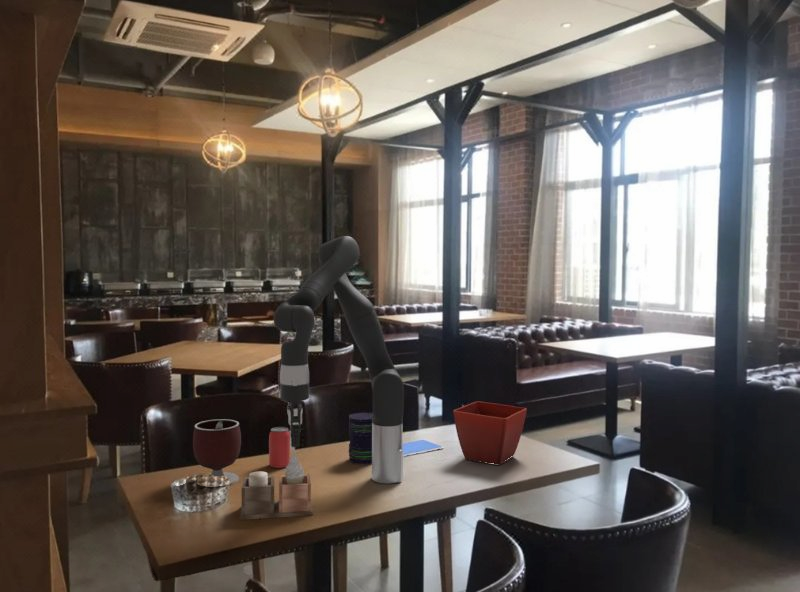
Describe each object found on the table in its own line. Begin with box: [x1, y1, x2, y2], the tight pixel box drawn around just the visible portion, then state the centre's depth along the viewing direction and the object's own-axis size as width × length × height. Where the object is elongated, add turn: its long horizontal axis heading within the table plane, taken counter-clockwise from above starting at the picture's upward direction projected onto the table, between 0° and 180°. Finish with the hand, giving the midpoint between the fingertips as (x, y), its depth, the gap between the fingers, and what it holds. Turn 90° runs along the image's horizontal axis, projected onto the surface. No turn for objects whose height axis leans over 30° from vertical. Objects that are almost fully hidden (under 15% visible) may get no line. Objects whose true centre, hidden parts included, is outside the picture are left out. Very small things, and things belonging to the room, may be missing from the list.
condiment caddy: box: [239, 470, 314, 521], centre depth 171 cm, size 18×9×10 cm, turn 100°
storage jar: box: [348, 412, 372, 466], centre depth 215 cm, size 10×10×15 cm
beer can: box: [268, 426, 291, 469], centre depth 209 cm, size 7×7×12 cm
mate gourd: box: [192, 418, 242, 486], centre depth 193 cm, size 16×14×20 cm
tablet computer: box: [402, 439, 444, 457], centre depth 229 cm, size 19×13×1 cm, turn 124°
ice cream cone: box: [284, 450, 305, 484], centre depth 171 cm, size 5×5×15 cm
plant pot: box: [453, 401, 528, 465], centre depth 218 cm, size 19×19×17 cm
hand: (295, 442), depth 171 cm, fingers open, 8 cm apart
